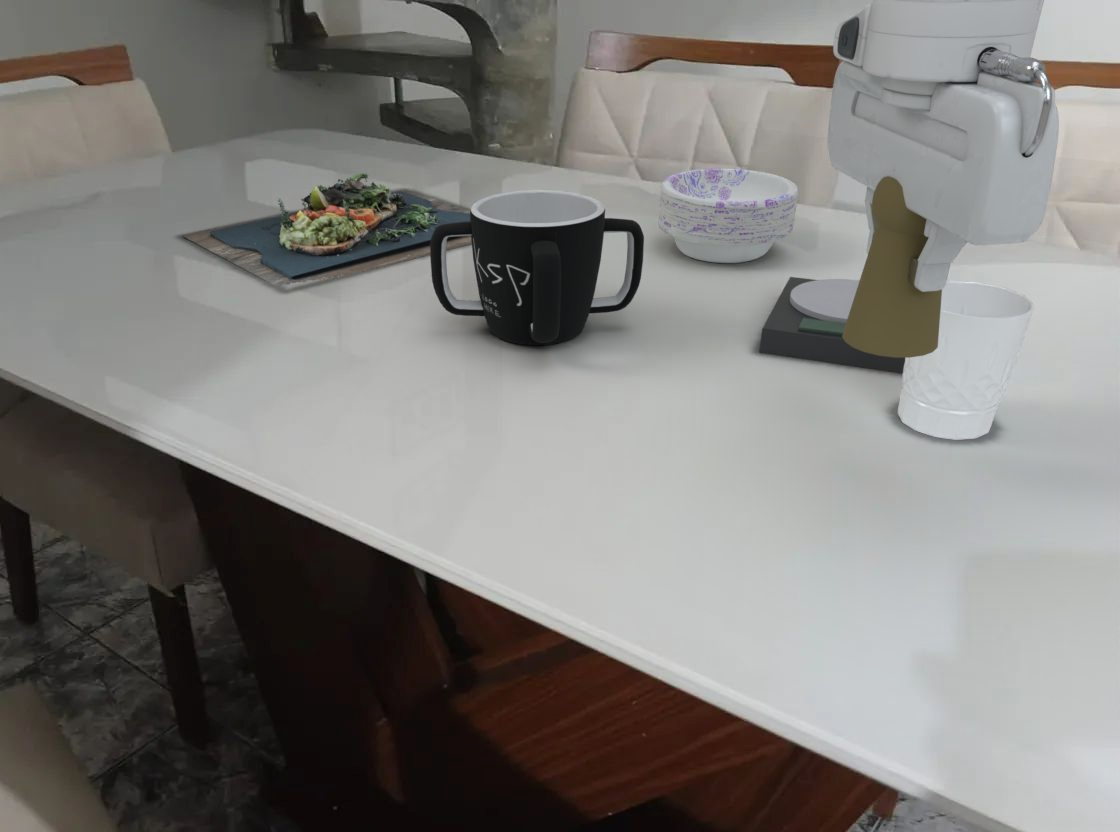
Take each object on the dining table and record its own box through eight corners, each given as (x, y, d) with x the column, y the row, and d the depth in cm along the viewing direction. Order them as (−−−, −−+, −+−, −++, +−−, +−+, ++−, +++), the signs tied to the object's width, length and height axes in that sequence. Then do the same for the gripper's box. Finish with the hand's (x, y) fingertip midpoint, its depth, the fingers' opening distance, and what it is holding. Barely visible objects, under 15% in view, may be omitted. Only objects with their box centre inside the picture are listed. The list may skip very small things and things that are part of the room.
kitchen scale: (786, 299, 99) (790, 270, 98) (922, 315, 94) (929, 286, 93) (758, 353, 87) (763, 321, 86) (912, 375, 83) (920, 342, 81)
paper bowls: (733, 282, 104) (742, 208, 100) (629, 250, 114) (633, 182, 110) (816, 252, 112) (827, 183, 108) (711, 225, 122) (718, 161, 118)
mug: (419, 328, 94) (412, 204, 88) (539, 290, 103) (540, 175, 97) (532, 380, 83) (533, 243, 77) (655, 332, 92) (665, 206, 86)
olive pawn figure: (845, 354, 63) (875, 183, 57) (838, 320, 68) (865, 160, 62) (945, 360, 62) (985, 185, 56) (930, 325, 67) (966, 161, 61)
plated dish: (289, 293, 104) (281, 225, 100) (178, 240, 123) (167, 181, 119) (531, 231, 123) (531, 172, 119) (402, 194, 142) (399, 142, 138)
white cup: (871, 421, 76) (897, 299, 70) (916, 390, 80) (943, 273, 75) (974, 455, 71) (1009, 327, 66) (1015, 419, 75) (1051, 297, 70)
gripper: (1121, 60, 47) (1045, 328, 54) (916, 19, 64) (879, 225, 71) (996, 67, 46) (936, 336, 53) (824, 24, 64) (796, 231, 71)
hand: (902, 272), depth 62 cm, fingers closed on olive pawn figure, 4 cm apart
